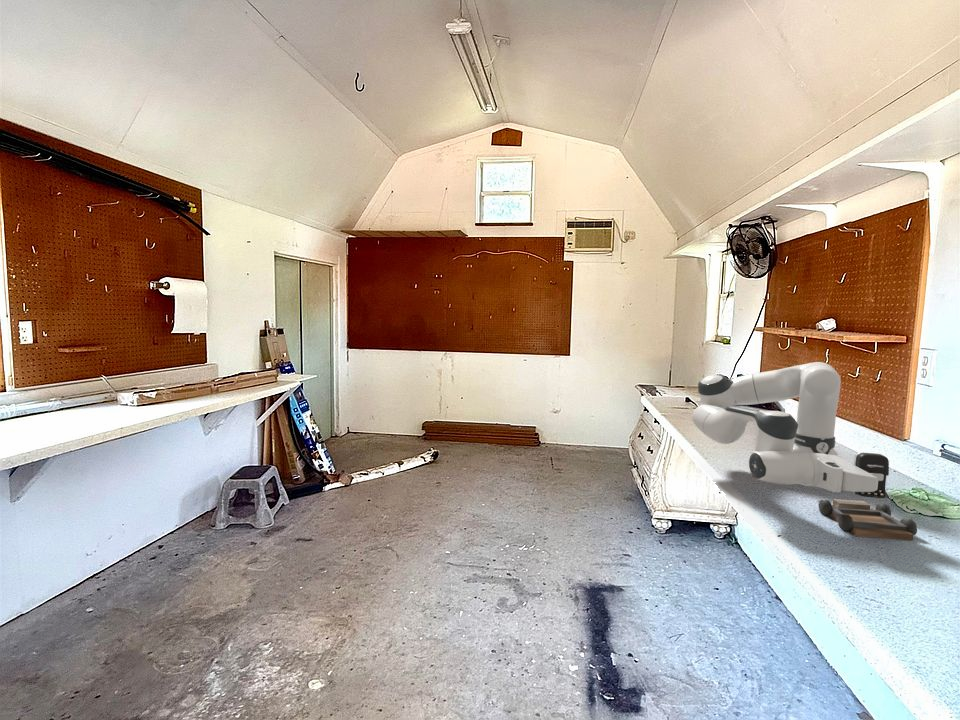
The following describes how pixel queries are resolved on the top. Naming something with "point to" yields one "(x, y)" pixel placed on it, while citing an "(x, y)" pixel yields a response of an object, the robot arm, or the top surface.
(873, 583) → the top surface
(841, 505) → the chassis
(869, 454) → the battery
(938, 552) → the top surface
